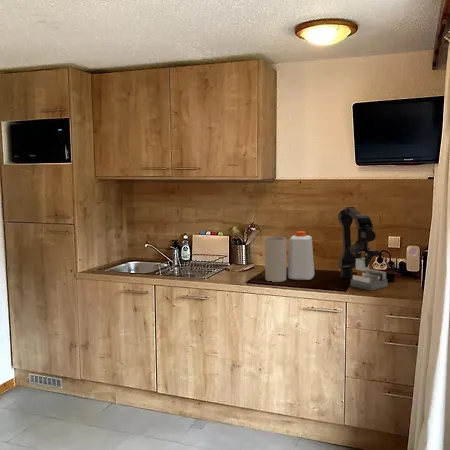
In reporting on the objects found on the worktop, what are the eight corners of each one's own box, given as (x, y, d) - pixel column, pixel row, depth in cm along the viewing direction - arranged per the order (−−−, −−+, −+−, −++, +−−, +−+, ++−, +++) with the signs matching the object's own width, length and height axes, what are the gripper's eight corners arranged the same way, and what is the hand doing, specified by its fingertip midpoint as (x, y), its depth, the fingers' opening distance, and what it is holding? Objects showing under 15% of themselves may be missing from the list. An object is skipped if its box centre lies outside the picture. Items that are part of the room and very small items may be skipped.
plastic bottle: (286, 279, 300) (286, 233, 296) (290, 274, 314) (290, 229, 311) (312, 280, 295) (311, 233, 292) (315, 275, 310) (315, 230, 306)
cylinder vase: (275, 276, 308) (274, 236, 305) (290, 279, 299) (290, 238, 296) (261, 280, 300) (260, 238, 297) (276, 283, 291) (275, 240, 288)
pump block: (355, 269, 277) (355, 258, 276) (361, 268, 279) (361, 257, 279) (362, 270, 273) (363, 259, 272) (369, 269, 275) (369, 258, 275)
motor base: (350, 286, 280) (350, 272, 279) (366, 282, 288) (366, 268, 287) (371, 290, 269) (371, 276, 268) (387, 286, 277) (387, 272, 276)
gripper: (339, 238, 277) (339, 266, 279) (366, 242, 262) (366, 271, 264) (353, 236, 283) (353, 263, 285) (380, 239, 268) (380, 268, 270)
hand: (362, 266), depth 276 cm, fingers closed on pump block, 5 cm apart
